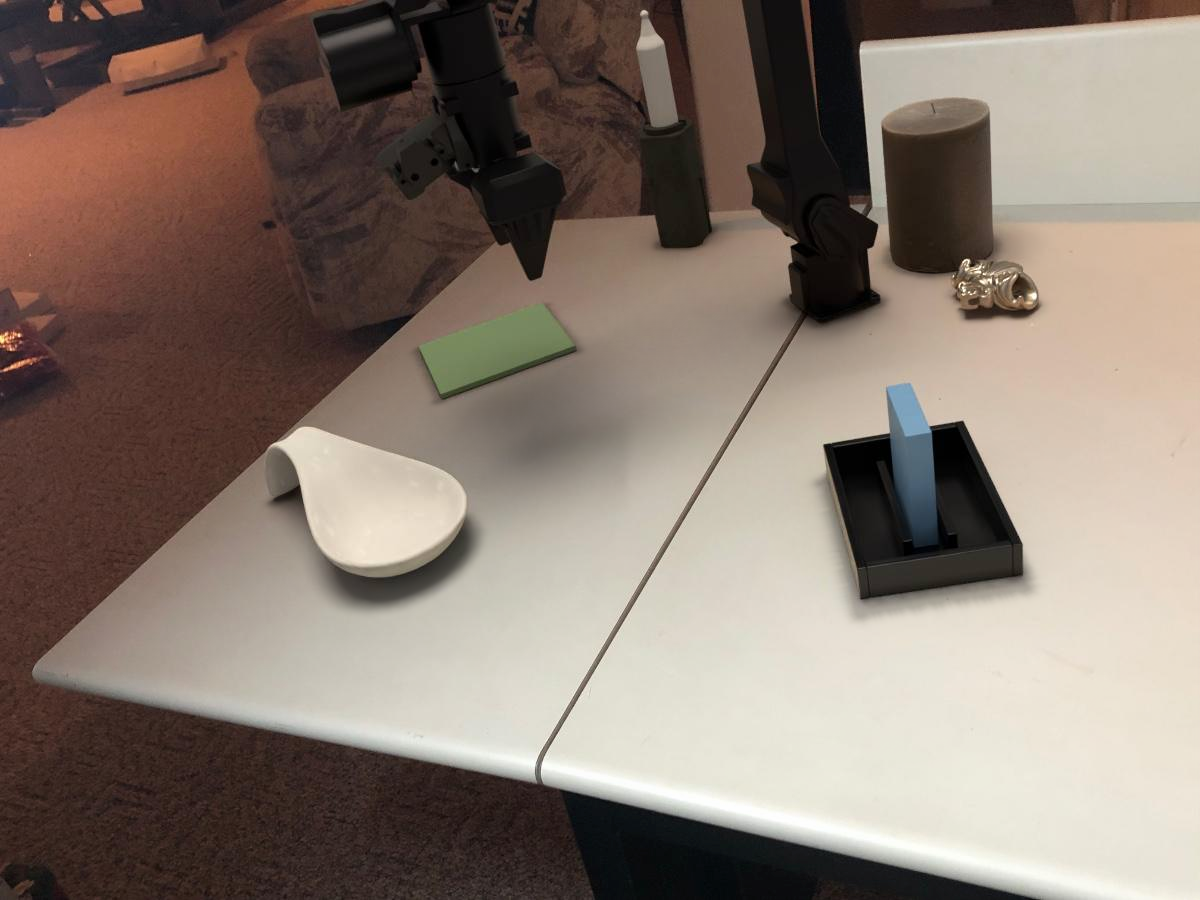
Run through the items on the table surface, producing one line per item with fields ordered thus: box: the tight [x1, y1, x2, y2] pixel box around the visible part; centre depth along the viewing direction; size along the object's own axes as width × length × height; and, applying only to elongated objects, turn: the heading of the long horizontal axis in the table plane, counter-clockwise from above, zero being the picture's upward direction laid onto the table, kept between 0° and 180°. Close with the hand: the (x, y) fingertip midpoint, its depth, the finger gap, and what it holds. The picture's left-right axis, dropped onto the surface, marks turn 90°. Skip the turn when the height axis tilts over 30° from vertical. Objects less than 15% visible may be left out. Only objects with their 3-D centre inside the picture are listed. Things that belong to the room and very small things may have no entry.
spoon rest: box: [263, 426, 469, 578], centre depth 87 cm, size 24×12×7 cm, turn 46°
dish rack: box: [822, 420, 1024, 600], centre depth 73 cm, size 14×10×4 cm
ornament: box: [950, 259, 1040, 312], centre depth 95 cm, size 8×7×4 cm
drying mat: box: [418, 301, 577, 400], centre depth 110 cm, size 14×12×1 cm
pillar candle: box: [880, 96, 994, 273], centre depth 103 cm, size 10×10×15 cm
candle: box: [635, 9, 713, 248], centre depth 116 cm, size 5×5×25 cm
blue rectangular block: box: [885, 382, 938, 548], centre depth 71 cm, size 6×2×9 cm, turn 179°
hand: (519, 260), depth 90 cm, fingers open, 9 cm apart
